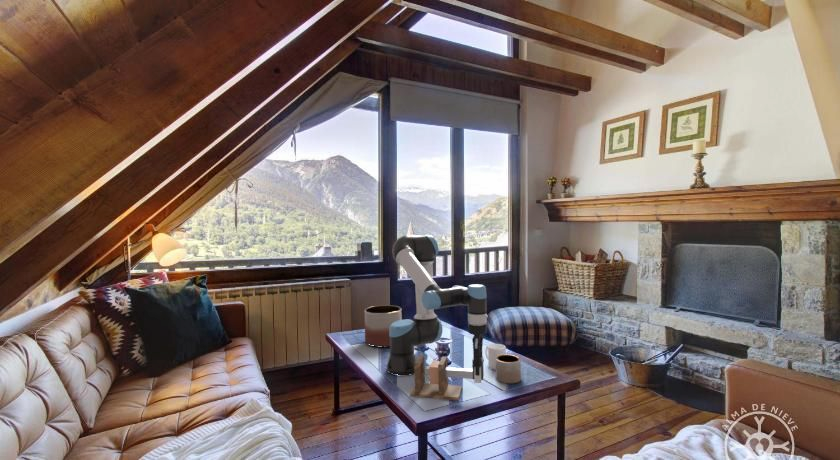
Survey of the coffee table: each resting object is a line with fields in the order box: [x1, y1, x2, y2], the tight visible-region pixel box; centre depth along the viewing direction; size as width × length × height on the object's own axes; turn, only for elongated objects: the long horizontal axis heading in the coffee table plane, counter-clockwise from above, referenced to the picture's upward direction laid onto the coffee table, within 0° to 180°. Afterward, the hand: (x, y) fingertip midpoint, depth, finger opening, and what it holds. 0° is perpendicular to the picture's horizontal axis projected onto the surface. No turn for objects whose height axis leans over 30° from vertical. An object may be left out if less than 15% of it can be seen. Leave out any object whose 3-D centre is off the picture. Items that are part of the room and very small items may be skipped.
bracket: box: [409, 354, 463, 401], centre depth 165 cm, size 20×11×14 cm, turn 76°
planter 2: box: [495, 354, 522, 385], centre depth 176 cm, size 11×11×10 cm
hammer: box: [425, 356, 485, 381], centre depth 163 cm, size 24×4×8 cm, turn 76°
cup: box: [485, 343, 507, 371], centre depth 192 cm, size 8×12×10 cm
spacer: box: [429, 360, 440, 384], centre depth 165 cm, size 4×7×7 cm, turn 166°
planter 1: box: [364, 304, 403, 348], centre depth 233 cm, size 22×22×20 cm
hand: (478, 379), depth 160 cm, fingers closed on hammer, 4 cm apart
